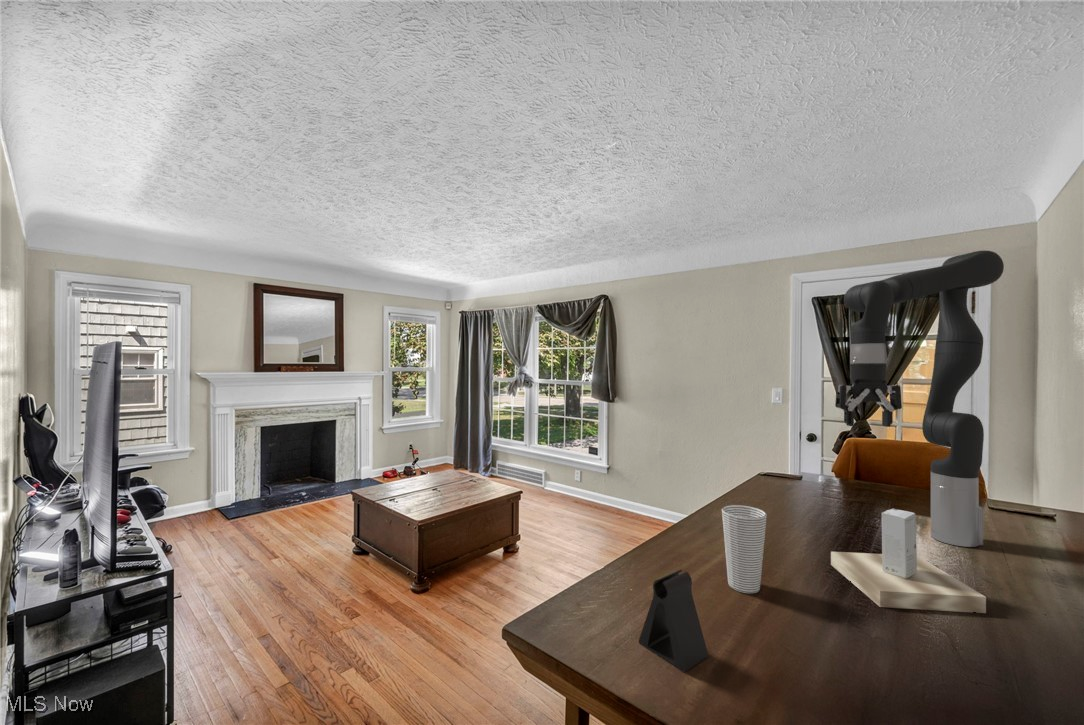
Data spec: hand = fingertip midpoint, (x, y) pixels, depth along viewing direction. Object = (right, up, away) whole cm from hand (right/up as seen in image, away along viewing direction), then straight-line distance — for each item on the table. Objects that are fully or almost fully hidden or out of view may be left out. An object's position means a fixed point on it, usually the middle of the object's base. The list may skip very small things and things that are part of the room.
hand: (867, 426), depth 114 cm
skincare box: (-9, -27, -21) cm, 36 cm away
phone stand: (-61, -30, -42) cm, 80 cm away
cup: (-41, -30, -21) cm, 55 cm away
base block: (-9, -30, -21) cm, 38 cm away
